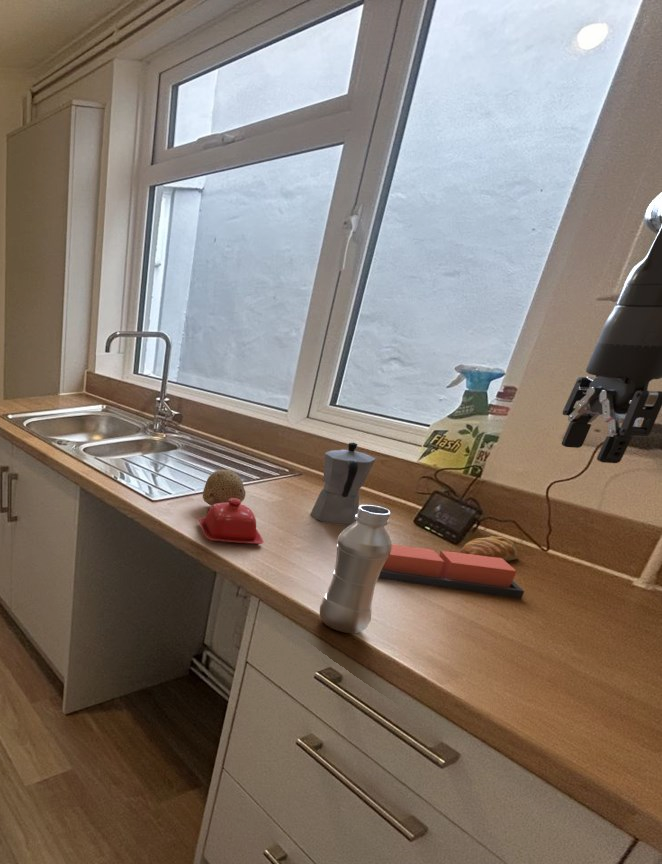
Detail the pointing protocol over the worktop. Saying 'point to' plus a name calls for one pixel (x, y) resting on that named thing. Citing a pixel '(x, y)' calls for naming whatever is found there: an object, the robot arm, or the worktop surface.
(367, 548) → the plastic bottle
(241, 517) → the butter dish
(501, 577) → the red block
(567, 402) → the robot arm
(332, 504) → the coffeepot
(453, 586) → the tray
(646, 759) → the worktop surface
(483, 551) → the pastry
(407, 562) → the red toy brick
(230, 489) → the natural sponge
